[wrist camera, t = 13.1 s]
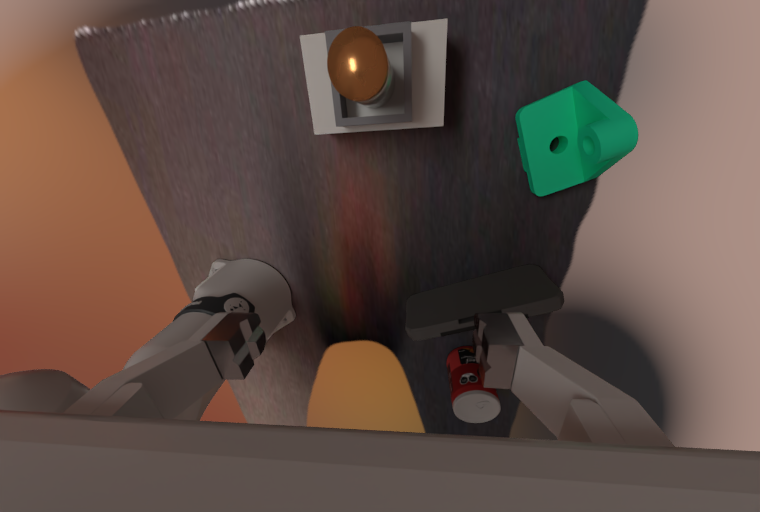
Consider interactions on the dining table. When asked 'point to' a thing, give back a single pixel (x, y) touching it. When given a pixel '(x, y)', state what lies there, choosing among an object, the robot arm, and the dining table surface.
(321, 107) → the grey pedestal block
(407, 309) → the handheld gaming console
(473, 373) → the canned food
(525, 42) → the dining table surface
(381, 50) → the glass jar
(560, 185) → the camera mount
